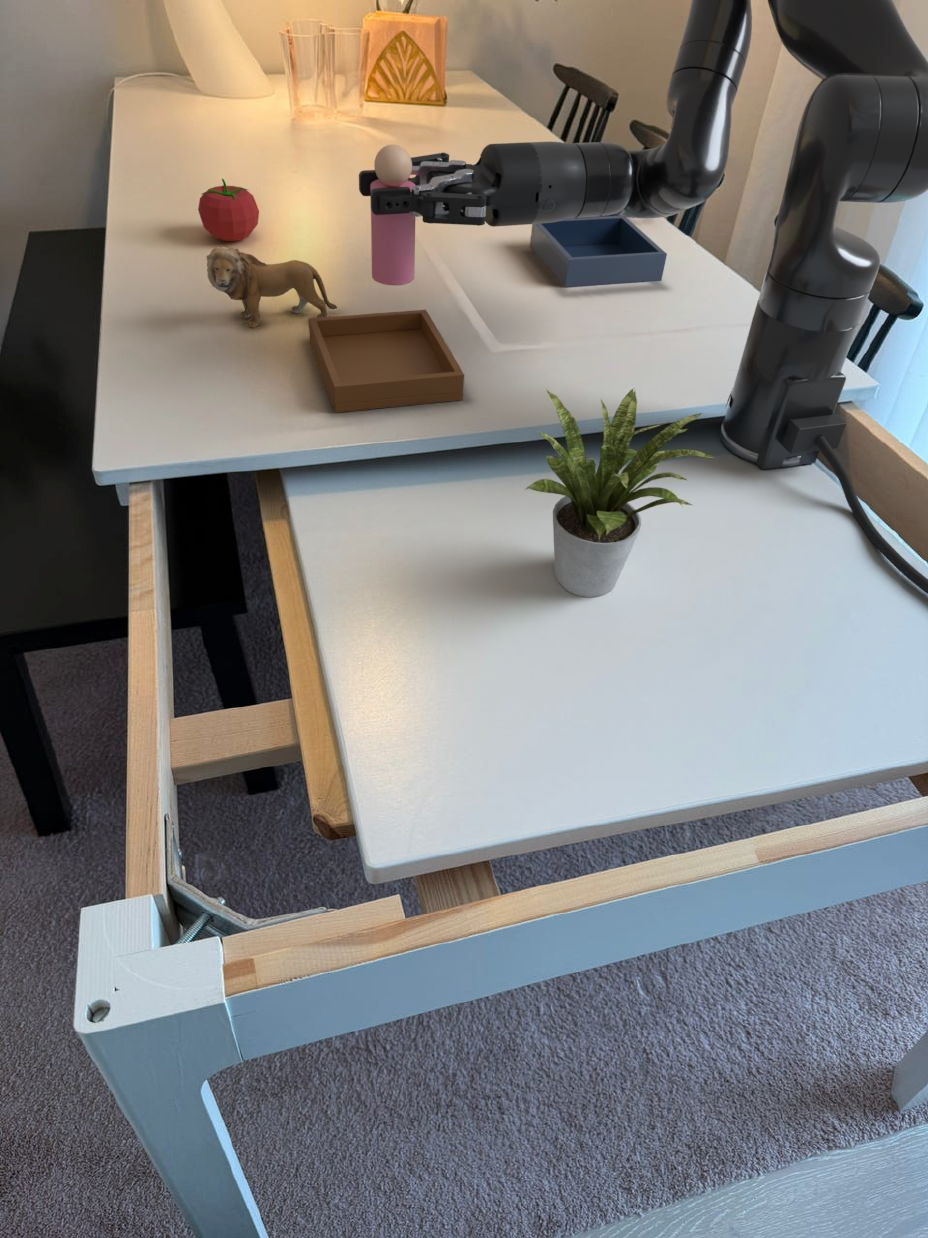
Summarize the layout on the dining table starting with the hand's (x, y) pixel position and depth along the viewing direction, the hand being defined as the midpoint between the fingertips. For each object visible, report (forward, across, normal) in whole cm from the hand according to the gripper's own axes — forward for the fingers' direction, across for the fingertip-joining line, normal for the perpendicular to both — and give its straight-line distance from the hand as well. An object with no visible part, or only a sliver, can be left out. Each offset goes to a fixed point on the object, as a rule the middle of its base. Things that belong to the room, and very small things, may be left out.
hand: (366, 192), depth 89 cm
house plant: (-10, +40, +18) cm, 45 cm away
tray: (-1, +1, +18) cm, 18 cm away
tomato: (+10, -39, +19) cm, 45 cm away
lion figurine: (+8, -13, +19) cm, 24 cm away
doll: (-3, 0, +8) cm, 9 cm away
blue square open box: (-36, -20, +19) cm, 45 cm away
